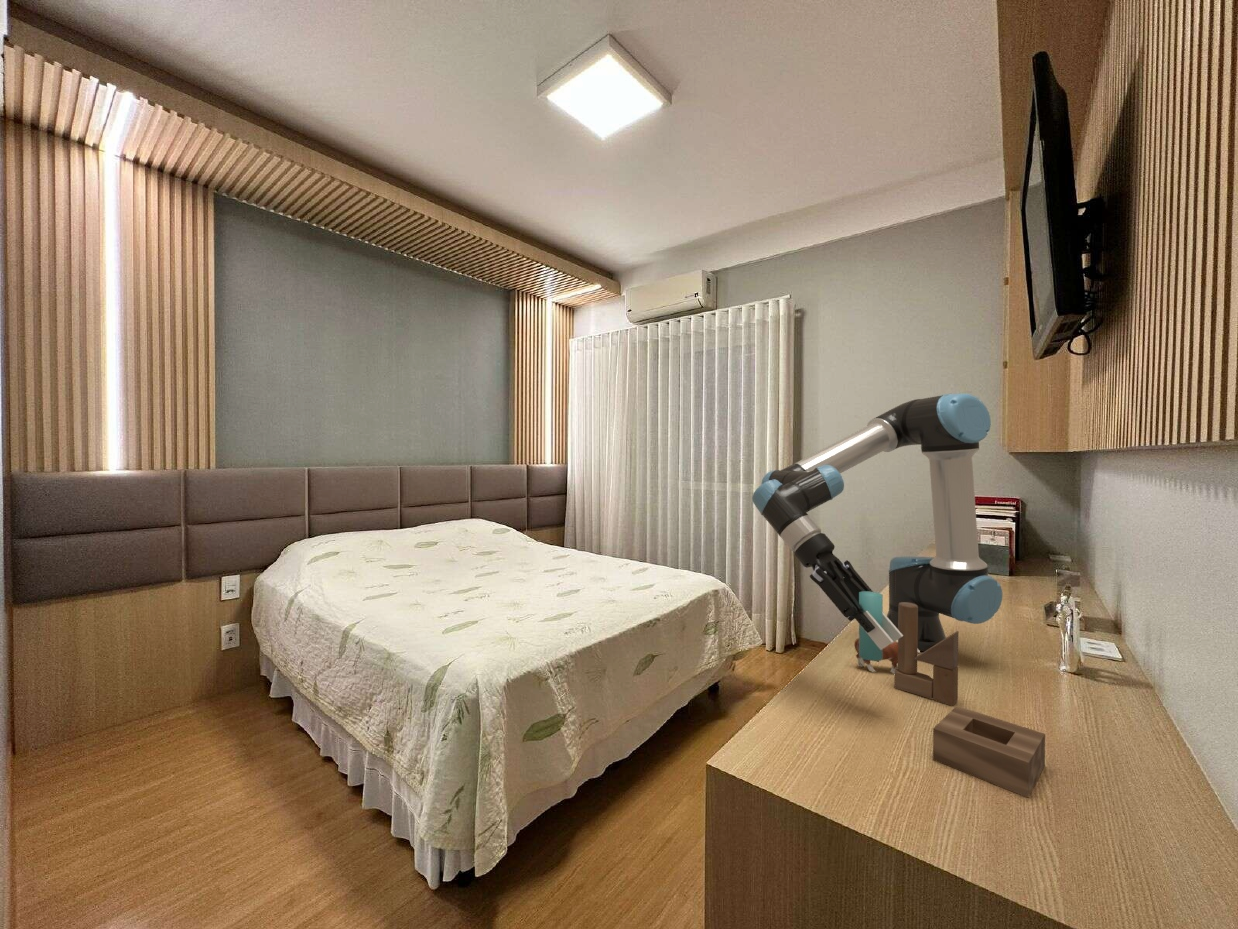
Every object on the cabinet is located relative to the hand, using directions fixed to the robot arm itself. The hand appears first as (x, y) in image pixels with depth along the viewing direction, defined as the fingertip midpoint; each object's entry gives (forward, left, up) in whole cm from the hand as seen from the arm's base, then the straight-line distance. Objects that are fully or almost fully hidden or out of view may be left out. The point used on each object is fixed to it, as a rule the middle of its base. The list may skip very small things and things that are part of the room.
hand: (891, 642), depth 92 cm
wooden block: (-17, 0, -15) cm, 23 cm away
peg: (0, -4, -4) cm, 5 cm away
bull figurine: (-23, -10, -15) cm, 29 cm away
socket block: (+2, +15, -14) cm, 21 cm away
